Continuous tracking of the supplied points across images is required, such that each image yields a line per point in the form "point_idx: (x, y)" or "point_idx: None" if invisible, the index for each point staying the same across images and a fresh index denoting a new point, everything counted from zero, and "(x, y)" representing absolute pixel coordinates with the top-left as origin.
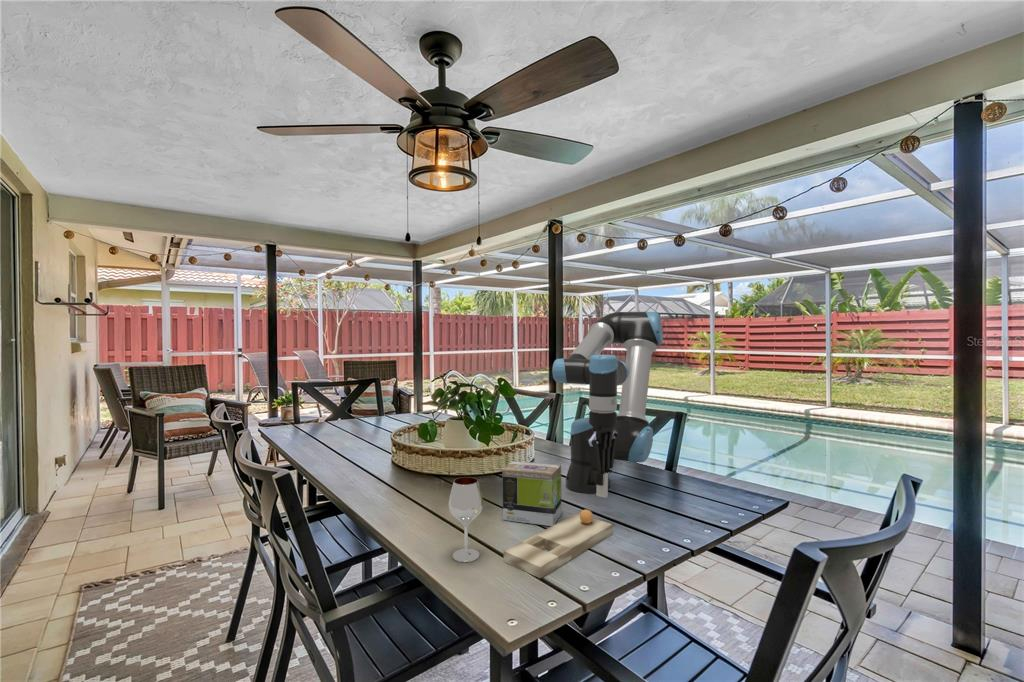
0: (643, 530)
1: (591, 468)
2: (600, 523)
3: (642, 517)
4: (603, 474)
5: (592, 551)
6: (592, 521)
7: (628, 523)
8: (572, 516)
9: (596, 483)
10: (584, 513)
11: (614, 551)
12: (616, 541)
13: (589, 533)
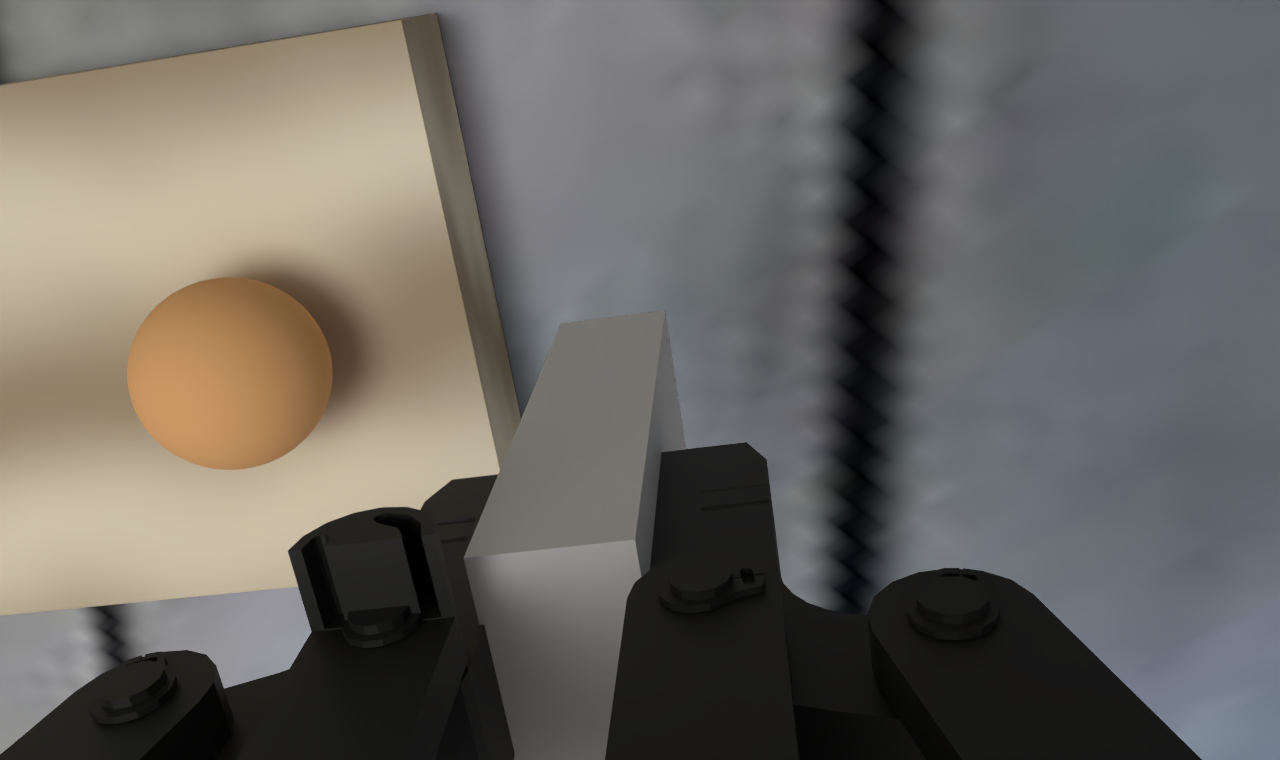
0: None
1: (28, 748)
2: (417, 461)
3: (1230, 470)
4: (518, 749)
5: (90, 609)
6: (376, 359)
7: (926, 463)
8: (250, 60)
9: (430, 498)
10: (141, 419)
11: None
12: None
13: (115, 546)
